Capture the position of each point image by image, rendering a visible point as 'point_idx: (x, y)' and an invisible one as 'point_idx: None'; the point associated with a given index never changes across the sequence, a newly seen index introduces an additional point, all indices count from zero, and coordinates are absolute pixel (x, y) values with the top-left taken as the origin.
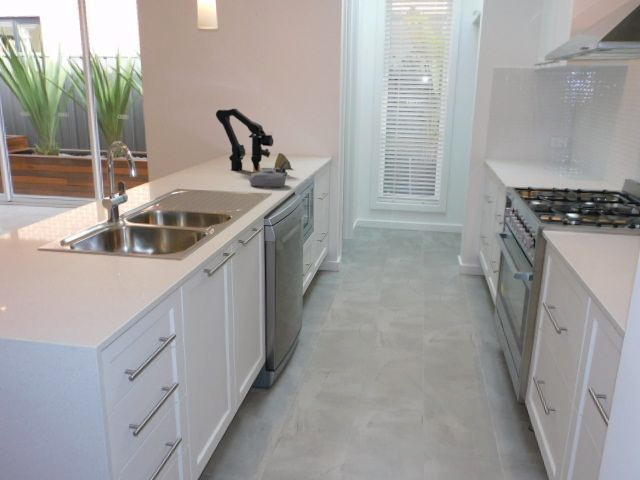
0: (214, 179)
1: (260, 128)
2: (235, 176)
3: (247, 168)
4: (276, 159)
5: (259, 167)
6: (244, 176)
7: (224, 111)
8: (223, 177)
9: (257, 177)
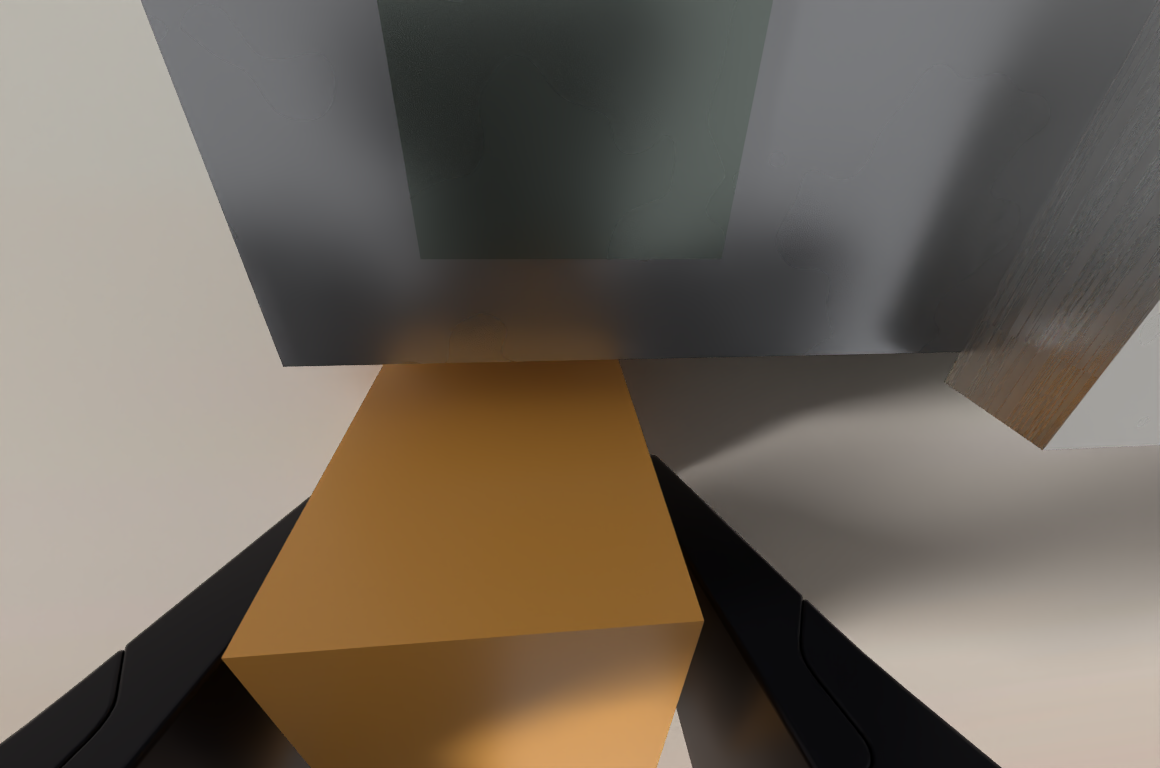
0: (1108, 746)
1: None
2: (1035, 661)
3: (15, 650)
4: None
5: (652, 478)
6: (1114, 579)
7: None
8: (1034, 724)
9: None
